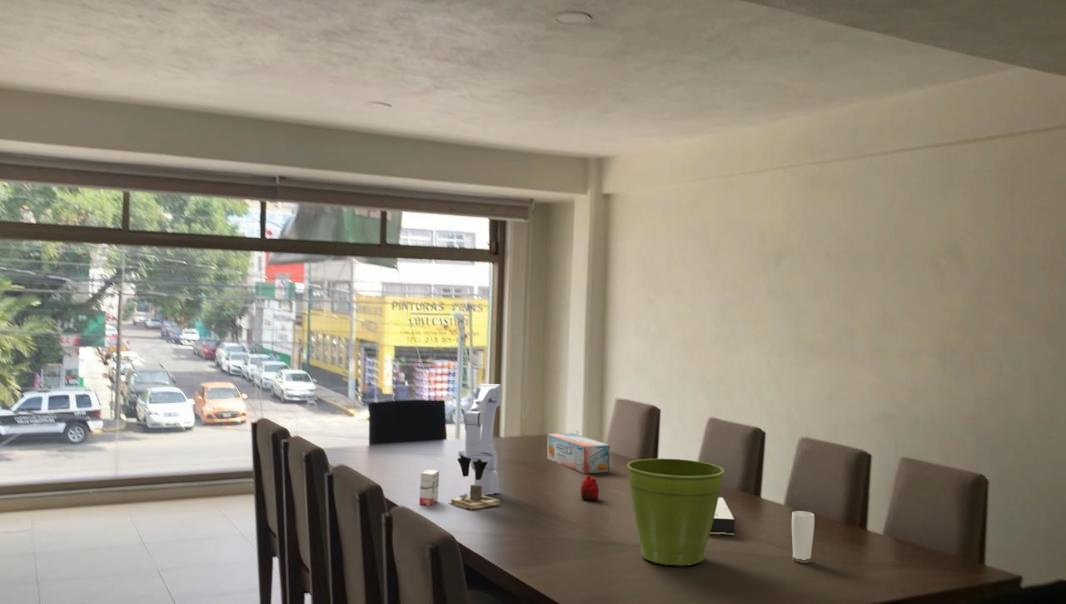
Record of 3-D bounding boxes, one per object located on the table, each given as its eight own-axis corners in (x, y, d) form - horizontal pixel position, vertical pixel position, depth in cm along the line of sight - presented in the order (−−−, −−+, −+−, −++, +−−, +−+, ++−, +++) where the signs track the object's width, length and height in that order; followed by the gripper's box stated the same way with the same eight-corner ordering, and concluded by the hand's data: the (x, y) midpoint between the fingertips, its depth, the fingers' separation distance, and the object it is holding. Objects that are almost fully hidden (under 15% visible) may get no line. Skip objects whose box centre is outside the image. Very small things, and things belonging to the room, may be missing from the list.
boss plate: (474, 498, 360) (475, 488, 360) (493, 504, 352) (493, 493, 352) (448, 503, 351) (448, 492, 351) (466, 508, 343) (467, 498, 343)
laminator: (734, 537, 314) (734, 519, 314) (698, 535, 316) (698, 517, 316) (722, 513, 348) (723, 497, 348) (690, 512, 349) (690, 495, 349)
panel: (479, 498, 359) (480, 480, 359) (499, 504, 350) (500, 485, 350) (451, 503, 349) (451, 485, 349) (471, 509, 340) (472, 490, 340)
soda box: (610, 473, 420) (611, 444, 420) (583, 474, 415) (584, 446, 414) (570, 457, 457) (571, 431, 457) (545, 458, 452) (546, 432, 452)
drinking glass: (787, 558, 289) (788, 510, 289) (808, 558, 290) (809, 511, 290) (795, 564, 283) (796, 516, 282) (816, 564, 283) (818, 516, 283)
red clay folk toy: (602, 499, 364) (603, 462, 364) (590, 502, 359) (592, 464, 359) (587, 496, 370) (588, 459, 369) (576, 499, 364) (577, 461, 364)
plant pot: (699, 579, 265) (702, 480, 265) (607, 561, 281) (610, 467, 280) (735, 556, 290) (738, 465, 290) (649, 540, 306) (651, 454, 305)
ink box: (431, 505, 346) (432, 474, 346) (419, 504, 347) (419, 473, 347) (438, 500, 355) (439, 469, 355) (426, 499, 356) (427, 469, 356)
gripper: (452, 440, 354) (451, 476, 354) (477, 446, 343) (476, 482, 343) (466, 439, 359) (465, 473, 359) (491, 444, 348) (490, 480, 348)
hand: (472, 477), depth 351 cm, fingers open, 7 cm apart
